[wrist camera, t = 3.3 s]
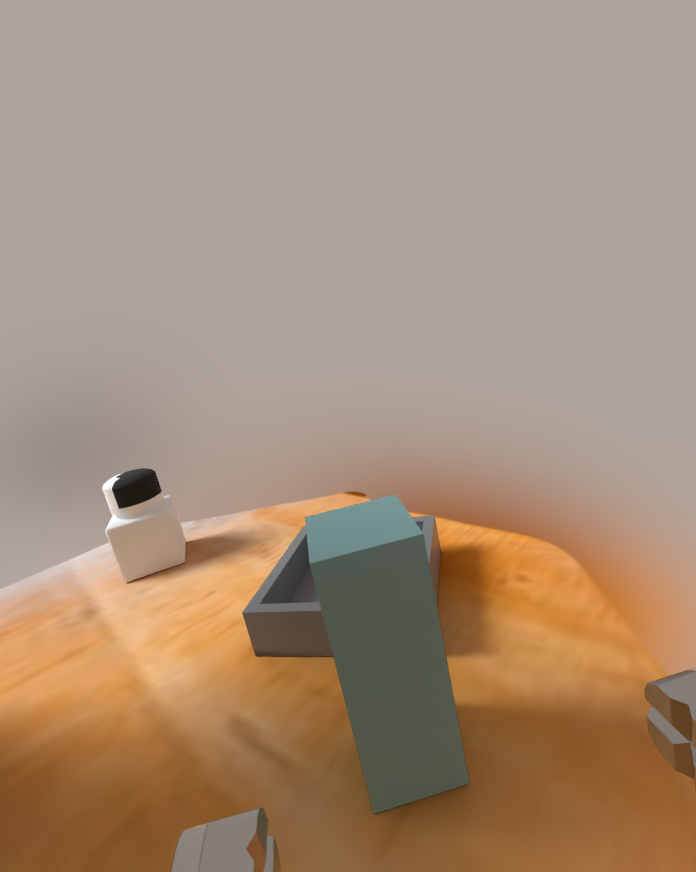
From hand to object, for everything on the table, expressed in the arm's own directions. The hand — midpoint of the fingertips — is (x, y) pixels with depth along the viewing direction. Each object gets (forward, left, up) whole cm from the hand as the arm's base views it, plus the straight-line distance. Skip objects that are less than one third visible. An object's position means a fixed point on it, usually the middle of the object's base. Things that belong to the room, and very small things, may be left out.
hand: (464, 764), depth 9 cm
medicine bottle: (-40, +34, -14) cm, 55 cm away
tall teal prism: (-5, +11, -14) cm, 19 cm away
